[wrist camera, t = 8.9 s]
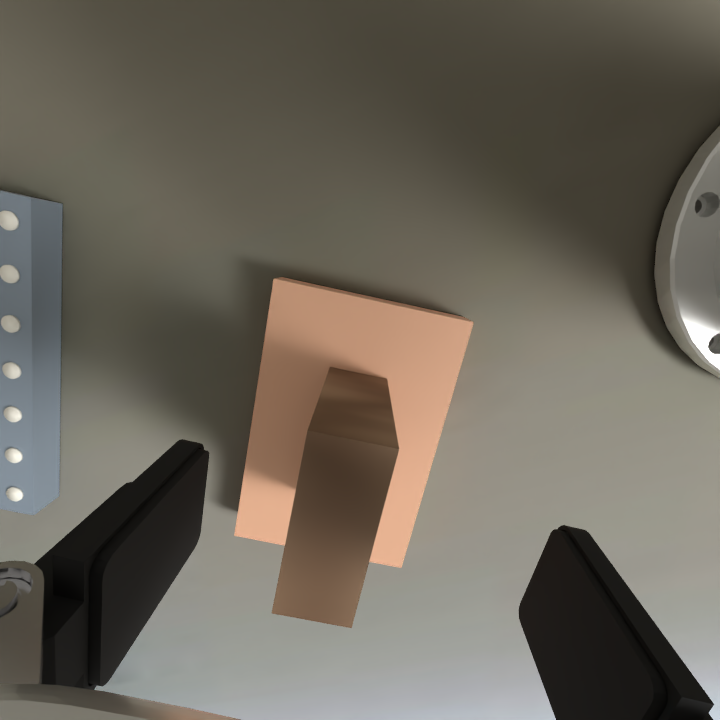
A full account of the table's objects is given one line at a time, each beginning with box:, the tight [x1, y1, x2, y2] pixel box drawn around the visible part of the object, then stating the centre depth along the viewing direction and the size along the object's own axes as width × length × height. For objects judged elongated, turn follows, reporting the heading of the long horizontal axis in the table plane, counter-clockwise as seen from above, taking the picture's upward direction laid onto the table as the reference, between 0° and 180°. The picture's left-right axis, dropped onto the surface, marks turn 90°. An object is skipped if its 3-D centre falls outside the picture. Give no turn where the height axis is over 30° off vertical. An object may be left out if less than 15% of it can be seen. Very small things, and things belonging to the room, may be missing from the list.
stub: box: [234, 277, 474, 628], centre depth 14 cm, size 8×12×8 cm, turn 168°
